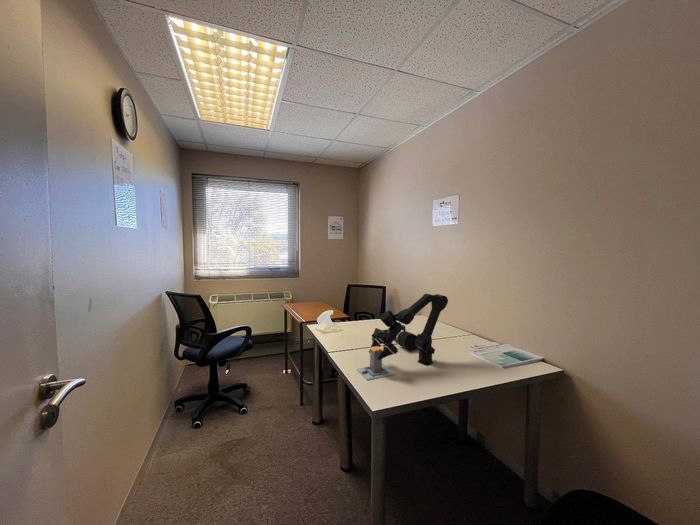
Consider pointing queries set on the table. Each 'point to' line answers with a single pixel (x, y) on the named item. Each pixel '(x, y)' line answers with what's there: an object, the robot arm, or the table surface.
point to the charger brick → (375, 359)
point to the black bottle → (407, 340)
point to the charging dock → (370, 375)
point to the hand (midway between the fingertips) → (373, 356)
